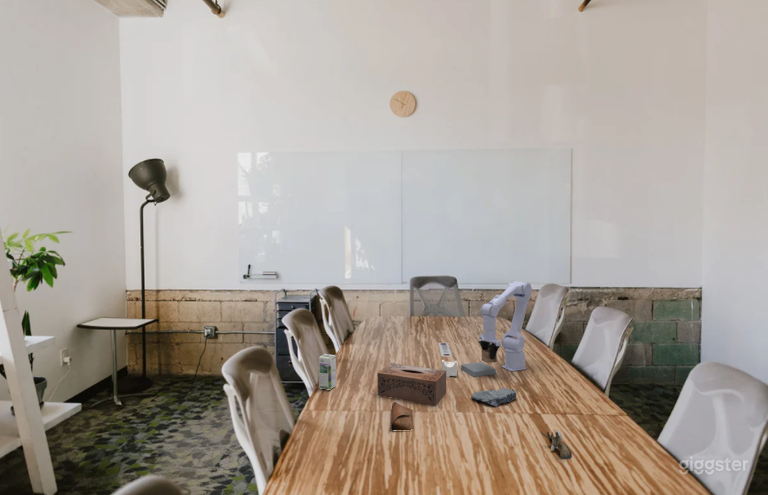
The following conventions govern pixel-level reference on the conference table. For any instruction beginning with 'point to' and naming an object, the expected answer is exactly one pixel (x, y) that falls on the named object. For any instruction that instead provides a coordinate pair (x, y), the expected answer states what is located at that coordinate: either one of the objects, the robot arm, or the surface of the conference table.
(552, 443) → the grey-brown figure
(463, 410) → the conference table surface
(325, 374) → the syrup box
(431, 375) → the tissue box cover
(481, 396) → the fossil
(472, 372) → the base slab
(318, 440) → the conference table surface
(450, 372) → the bracket
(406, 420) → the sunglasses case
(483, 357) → the walnut cube
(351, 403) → the conference table surface
